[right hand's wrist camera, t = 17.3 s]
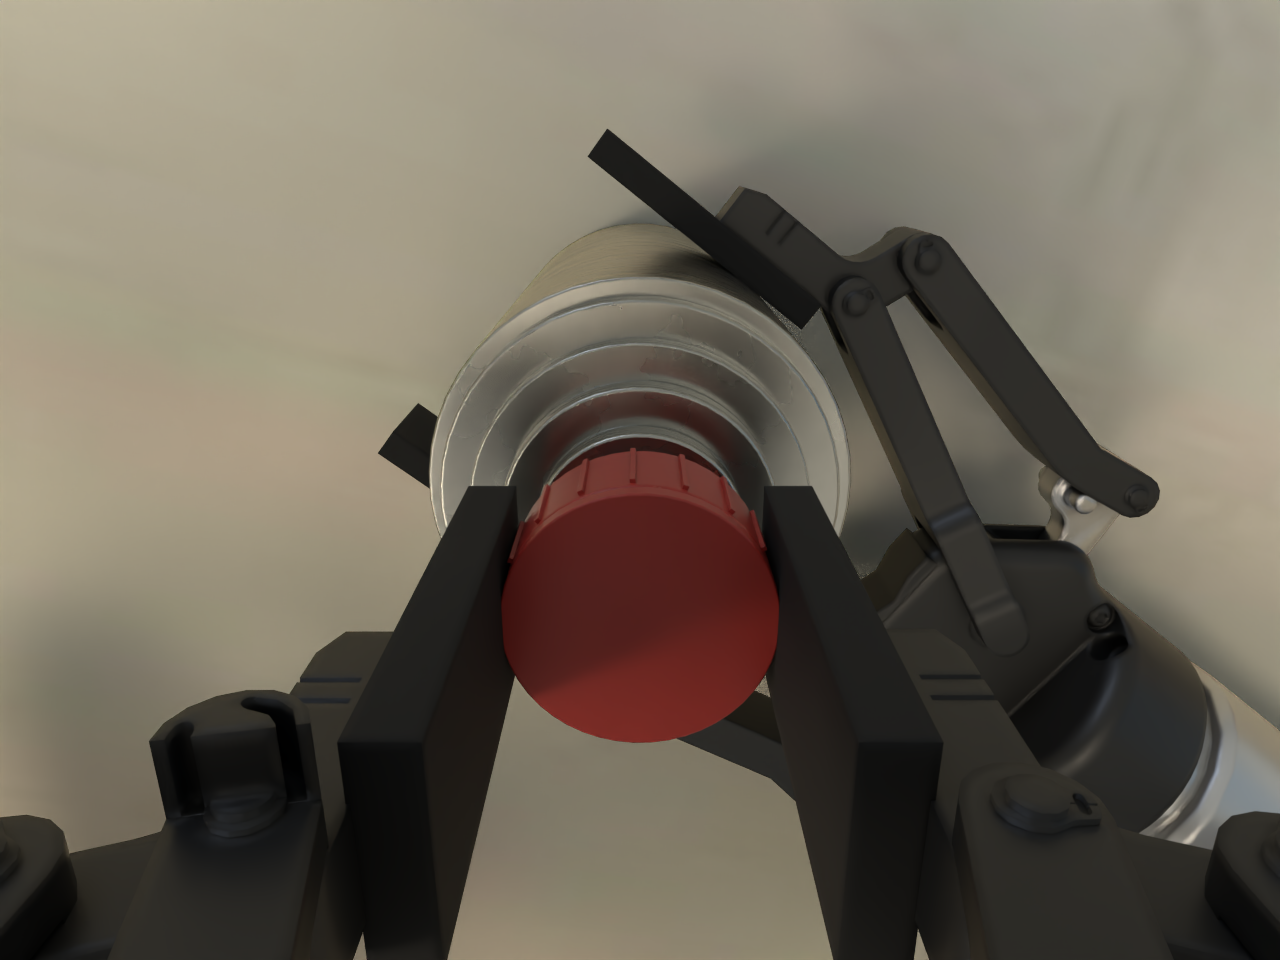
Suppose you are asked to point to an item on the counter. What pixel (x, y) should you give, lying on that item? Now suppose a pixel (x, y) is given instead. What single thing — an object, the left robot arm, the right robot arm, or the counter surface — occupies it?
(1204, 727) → the left robot arm
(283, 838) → the right robot arm
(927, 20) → the counter surface
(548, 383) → the bottle
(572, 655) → the cap
